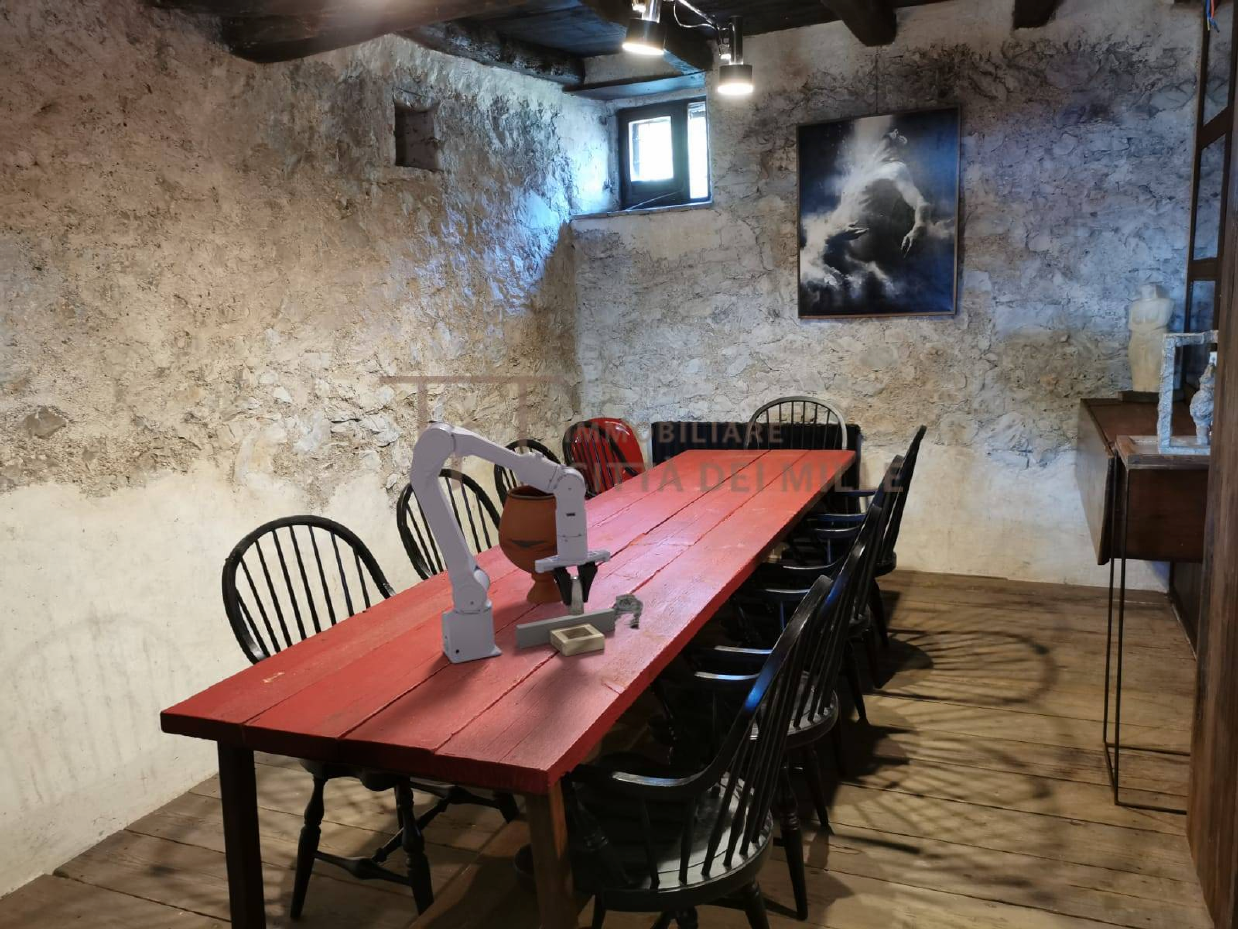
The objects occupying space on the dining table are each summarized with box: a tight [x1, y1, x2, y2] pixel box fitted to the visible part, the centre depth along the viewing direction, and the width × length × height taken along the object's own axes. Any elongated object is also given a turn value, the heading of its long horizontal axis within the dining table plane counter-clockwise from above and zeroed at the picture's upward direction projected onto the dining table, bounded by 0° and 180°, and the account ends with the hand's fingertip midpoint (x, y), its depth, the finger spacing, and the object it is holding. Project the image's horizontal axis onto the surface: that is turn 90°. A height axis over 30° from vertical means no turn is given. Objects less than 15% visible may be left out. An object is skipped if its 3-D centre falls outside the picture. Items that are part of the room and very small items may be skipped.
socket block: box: [549, 623, 606, 657], centre depth 175 cm, size 8×8×2 cm
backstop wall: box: [515, 607, 616, 649], centre depth 180 cm, size 20×2×4 cm, turn 115°
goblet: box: [497, 484, 562, 605], centre depth 203 cm, size 19×19×25 cm
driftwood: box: [612, 593, 644, 628], centre depth 194 cm, size 21×7×2 cm, turn 174°
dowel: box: [567, 574, 585, 616], centre depth 174 cm, size 3×3×7 cm
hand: (575, 603), depth 174 cm, fingers closed on dowel, 3 cm apart
